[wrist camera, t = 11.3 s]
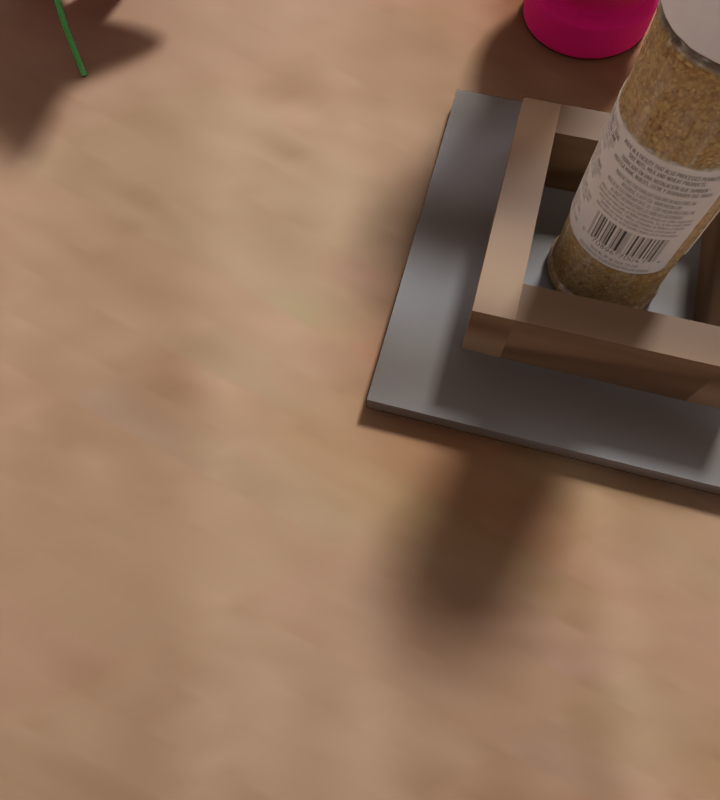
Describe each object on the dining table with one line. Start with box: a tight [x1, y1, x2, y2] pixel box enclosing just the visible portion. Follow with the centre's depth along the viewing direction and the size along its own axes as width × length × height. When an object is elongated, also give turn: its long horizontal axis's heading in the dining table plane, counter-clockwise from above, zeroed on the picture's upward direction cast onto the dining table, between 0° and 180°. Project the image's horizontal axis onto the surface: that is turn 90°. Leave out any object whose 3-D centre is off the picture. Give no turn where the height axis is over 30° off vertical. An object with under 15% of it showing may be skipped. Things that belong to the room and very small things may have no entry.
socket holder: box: [367, 90, 720, 495], centre depth 25 cm, size 16×16×4 cm
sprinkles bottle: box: [547, 0, 720, 309], centre depth 20 cm, size 5×5×13 cm
